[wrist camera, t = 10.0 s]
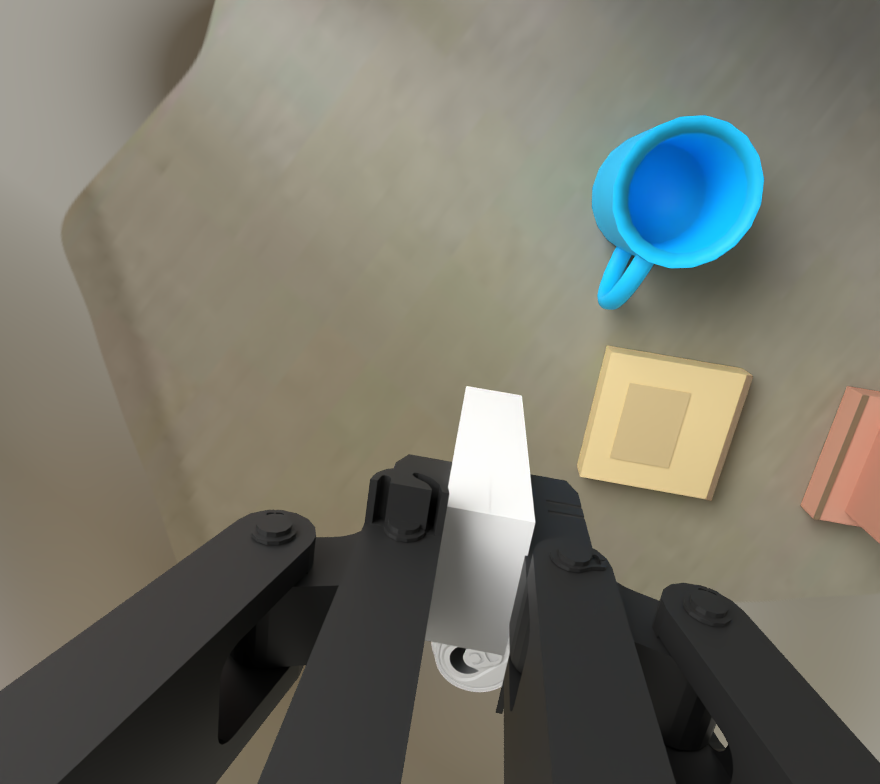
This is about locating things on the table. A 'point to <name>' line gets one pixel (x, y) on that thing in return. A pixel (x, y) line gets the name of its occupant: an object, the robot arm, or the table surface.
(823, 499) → the pink stepped block
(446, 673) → the beverage can
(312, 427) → the table surface
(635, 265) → the mug
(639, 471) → the tan flat square block
